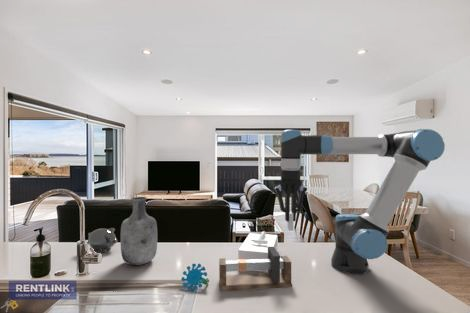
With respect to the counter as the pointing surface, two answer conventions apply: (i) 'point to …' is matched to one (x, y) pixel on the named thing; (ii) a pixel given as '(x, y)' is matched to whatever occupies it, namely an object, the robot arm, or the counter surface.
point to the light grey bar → (251, 264)
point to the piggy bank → (102, 239)
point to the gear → (195, 277)
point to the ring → (274, 264)
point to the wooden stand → (253, 278)
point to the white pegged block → (257, 247)
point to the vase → (138, 235)
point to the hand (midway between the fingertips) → (290, 229)
